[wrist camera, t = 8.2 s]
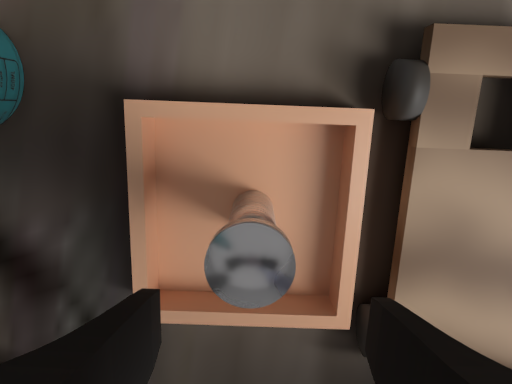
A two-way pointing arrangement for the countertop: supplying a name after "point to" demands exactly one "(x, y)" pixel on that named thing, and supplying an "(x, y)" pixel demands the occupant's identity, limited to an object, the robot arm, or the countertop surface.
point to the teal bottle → (9, 78)
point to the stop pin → (250, 255)
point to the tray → (233, 184)
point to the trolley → (452, 192)
